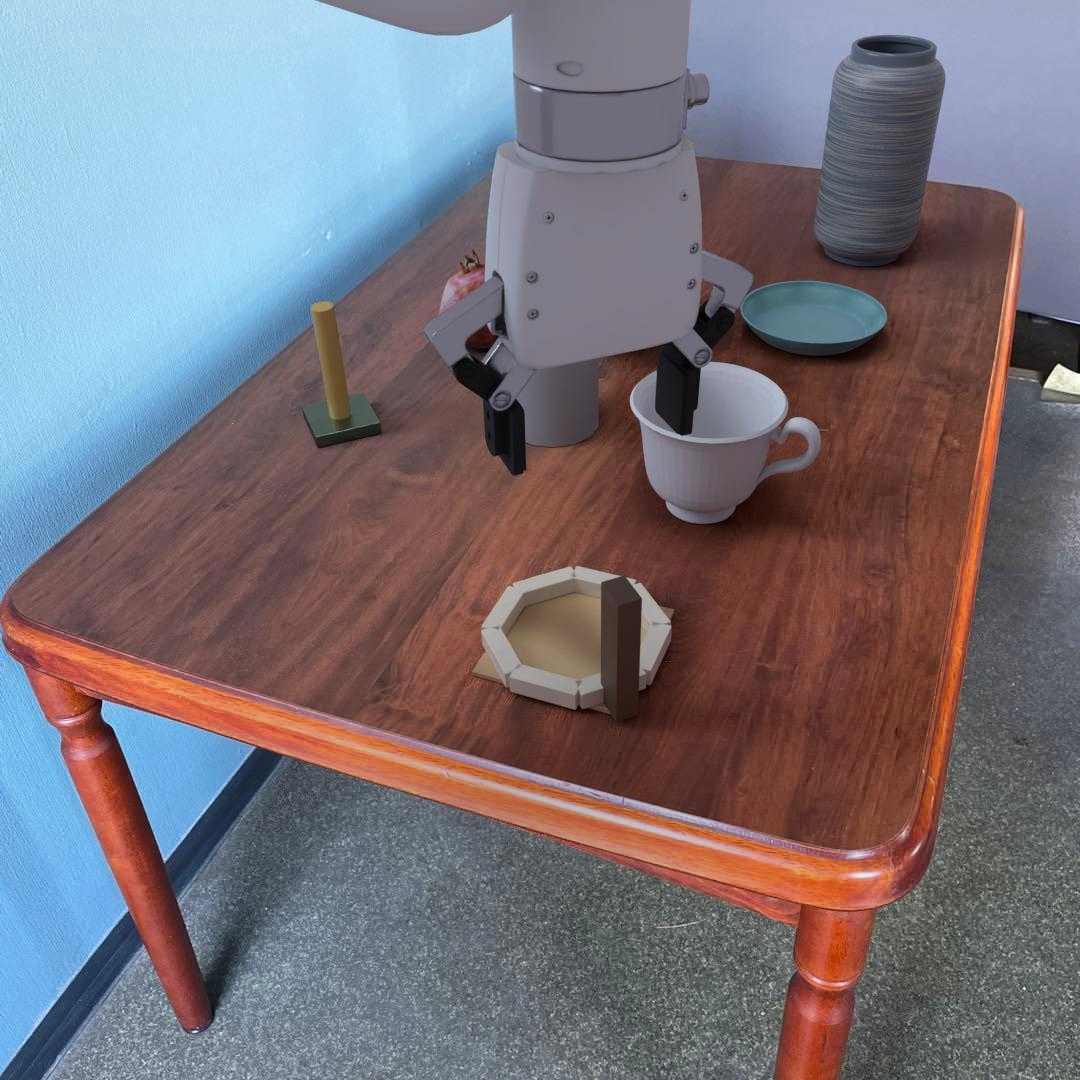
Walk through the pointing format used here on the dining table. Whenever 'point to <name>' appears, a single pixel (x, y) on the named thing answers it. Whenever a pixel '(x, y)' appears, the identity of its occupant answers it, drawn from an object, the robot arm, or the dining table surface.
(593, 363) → the cup
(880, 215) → the vase
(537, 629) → the cork pad
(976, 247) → the dining table surface
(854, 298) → the saucer
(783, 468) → the teacup
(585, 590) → the ring
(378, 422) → the stand
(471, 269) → the fruit
